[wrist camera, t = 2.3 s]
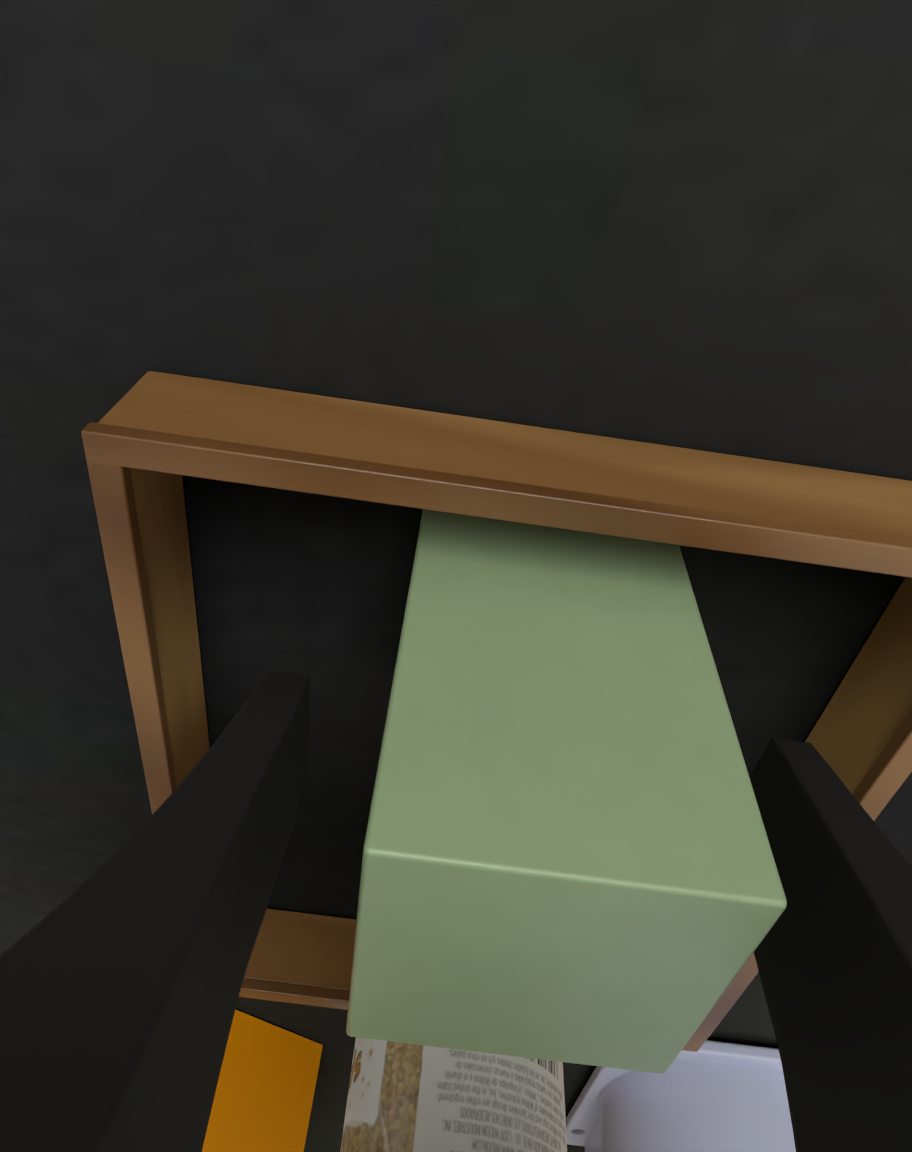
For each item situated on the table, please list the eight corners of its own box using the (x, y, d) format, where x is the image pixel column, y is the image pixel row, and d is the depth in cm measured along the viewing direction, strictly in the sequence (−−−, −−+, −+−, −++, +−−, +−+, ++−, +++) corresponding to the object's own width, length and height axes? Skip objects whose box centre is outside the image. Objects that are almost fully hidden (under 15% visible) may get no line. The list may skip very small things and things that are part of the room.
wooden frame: (682, 967, 23) (697, 1052, 21) (211, 909, 22) (184, 990, 20) (986, 487, 13) (1066, 570, 11) (144, 365, 12) (78, 430, 10)
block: (613, 707, 16) (665, 1076, 11) (402, 678, 16) (345, 1038, 11) (677, 532, 14) (791, 905, 8) (425, 497, 13) (362, 852, 8)
